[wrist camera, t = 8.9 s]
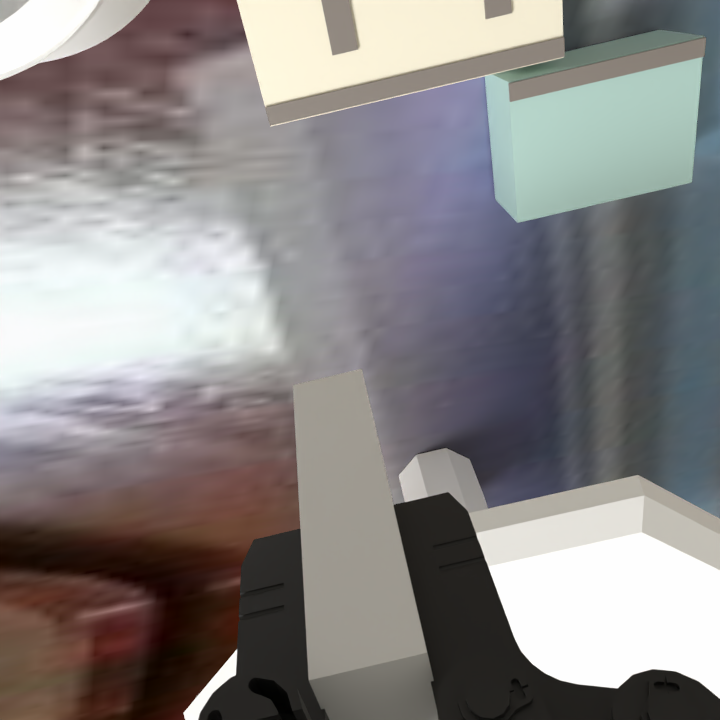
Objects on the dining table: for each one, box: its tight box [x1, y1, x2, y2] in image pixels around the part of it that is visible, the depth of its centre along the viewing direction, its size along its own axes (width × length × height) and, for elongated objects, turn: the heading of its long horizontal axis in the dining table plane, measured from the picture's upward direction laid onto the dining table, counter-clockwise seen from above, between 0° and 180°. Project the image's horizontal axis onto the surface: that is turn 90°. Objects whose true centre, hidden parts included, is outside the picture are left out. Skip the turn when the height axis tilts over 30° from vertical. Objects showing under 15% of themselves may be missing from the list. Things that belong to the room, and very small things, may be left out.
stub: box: [485, 30, 706, 223], centre depth 28 cm, size 8×6×4 cm
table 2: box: [184, 448, 720, 720], centre depth 34 cm, size 28×28×17 cm
